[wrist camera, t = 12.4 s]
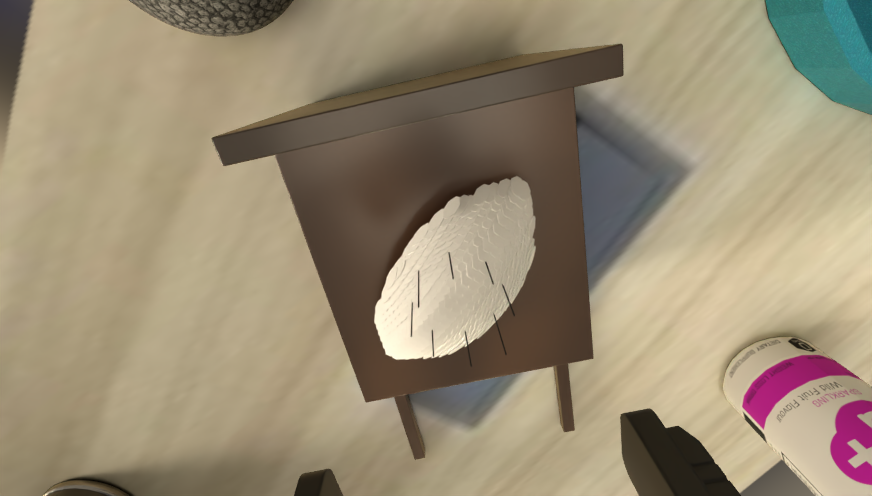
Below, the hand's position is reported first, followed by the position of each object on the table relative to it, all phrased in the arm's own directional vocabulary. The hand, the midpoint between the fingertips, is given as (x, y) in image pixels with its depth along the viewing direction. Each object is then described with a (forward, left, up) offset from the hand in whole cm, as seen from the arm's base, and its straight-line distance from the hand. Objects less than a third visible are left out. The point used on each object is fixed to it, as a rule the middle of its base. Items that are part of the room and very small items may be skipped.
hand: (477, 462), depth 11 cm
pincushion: (0, 0, -12) cm, 12 cm away
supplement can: (+25, -21, -21) cm, 39 cm away
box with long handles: (0, -7, -21) cm, 22 cm away
